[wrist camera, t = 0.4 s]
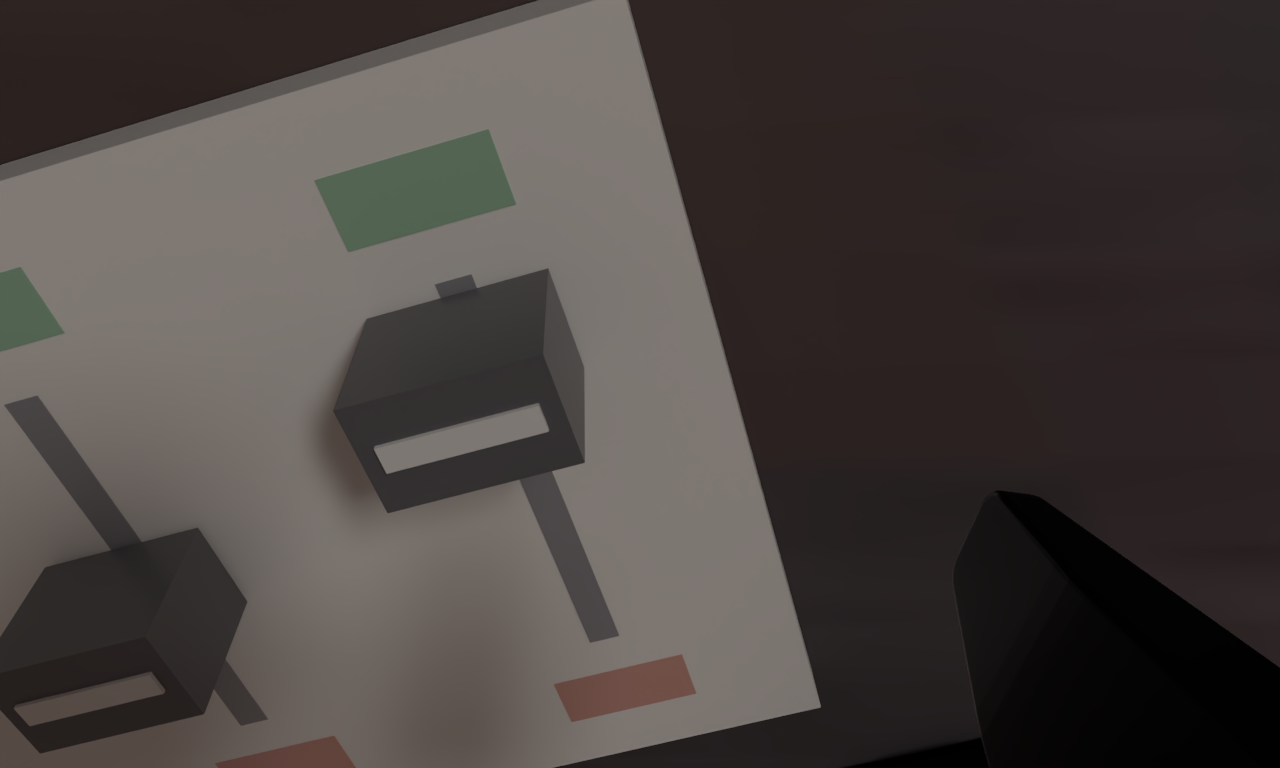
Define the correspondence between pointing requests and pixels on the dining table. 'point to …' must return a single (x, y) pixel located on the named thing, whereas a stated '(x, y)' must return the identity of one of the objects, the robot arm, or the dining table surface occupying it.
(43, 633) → the block
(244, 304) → the switch panel
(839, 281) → the dining table surface
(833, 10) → the dining table surface
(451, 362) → the block
